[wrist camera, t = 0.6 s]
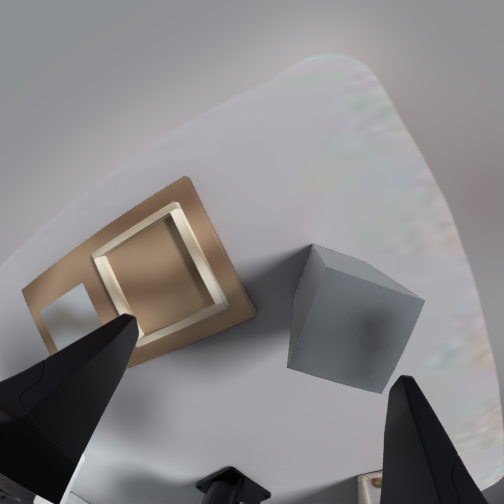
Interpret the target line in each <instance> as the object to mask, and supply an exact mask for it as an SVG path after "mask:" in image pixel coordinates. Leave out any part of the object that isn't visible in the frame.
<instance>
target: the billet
mask: <svg viewBox="0 0 504 504" xmlns="http://www.w3.org/2000/svg"><path fill="white" fill-rule="evenodd" d="M424 302H425V301H424V300H423V299H422V298H420V297H419V296H417V295H416V294H414V293H413V292H411V291H410V290H408V289H407V288H405V287H404V286H402V285H400V284H399V283H397V282H396V281H394V280H393V279H391V278H390V277H388V276H387V275H385V274H384V273H382V272H381V271H379V270H377V269H376V268H374V267H373V266H371V265H370V264H368V263H366V262H364V261H362V260H359V259H356V258H353V257H350V256H347V255H345V254H342V253H339V252H336V251H333V250H330V249H327V248H325V247H322V246H319V245H316V244H313V243H312V246H311V249H310V252H309V255H308V258H307V261H306V264H305V267H304V270H303V272H302V275H301V278H300V281H299V284H298V287H297V289H296V292H295V295H294V300H293V311H292V322H291V332H290V342H289V352H288V361H287V368H290V369H293V370H296V371H300V372H303V373H306V374H309V375H313V376H316V377H319V378H323V379H326V380H330V381H333V382H337V383H341V384H344V385H348V386H352V387H355V388H359V389H363V390H367V391H371V392H375V393H379V394H382V392H383V390H384V388H385V386H386V385H387V383H388V381H389V379H390V377H391V375H392V373H393V371H394V369H395V367H396V365H397V363H398V361H399V359H400V357H401V355H402V353H403V351H404V349H405V346H406V344H407V342H408V340H409V338H410V336H411V333H412V331H413V329H414V326H415V324H416V322H417V319H418V317H419V315H420V312H421V310H422V307H423V305H424Z"/></svg>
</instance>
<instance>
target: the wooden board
mask: <svg viewBox="0 0 504 504" xmlns="http://www.w3.org/2000/svg"><path fill="white" fill-rule="evenodd" d="M22 293H23V295H24V298H25V300H26V303H27V305H28V308H29V310H30V312H31V315H32V317H33V319H34V321H35V324H36V326H37V328H38V330H39V332H40V334H41V336H42V339H43V341H44V343H45V345H46V347H47V349H48V351H49V353H50V355H53V354H54V353H56V352H58V351H60V350H61V349H63V348H65V347H66V346H68V345H70V344H72V343H73V342H75V341H77V340H78V339H80V338H82V337H84V336H85V335H87V334H89V333H90V332H92V331H94V330H96V329H97V328H99V327H101V326H102V325H104V324H106V323H108V322H109V321H111V320H113V319H115V318H116V317H118V316H120V315H121V314H124V313H128V314H131V315H134V316H135V317H136V319H137V324H138V329H139V337H138V340H137V342H136V345H135V347H134V350H133V352H132V355H131V357H130V360H129V362H128V365H127V367H126V369H127V368H130V367H132V366H135V365H138V364H140V363H143V362H146V361H148V360H151V359H154V358H156V357H159V356H161V355H164V354H166V353H169V352H171V351H174V350H177V349H179V348H182V347H184V346H186V345H189V344H191V343H194V342H196V341H199V340H201V339H204V338H206V337H208V336H211V335H213V334H216V333H218V332H220V331H223V330H225V329H227V328H230V327H232V326H234V325H237V324H239V323H241V322H243V321H246V320H248V319H250V318H253V317H255V315H256V313H257V312H256V310H255V308H254V306H253V304H252V302H251V300H250V298H249V296H248V294H247V292H246V290H245V288H244V287H243V285H242V283H241V281H240V279H239V277H238V275H237V273H236V271H235V269H234V267H233V265H232V263H231V261H230V259H229V257H228V255H227V253H226V251H225V249H224V247H223V245H222V243H221V241H220V239H219V237H218V235H217V233H216V231H215V229H214V227H213V225H212V223H211V221H210V219H209V217H208V215H207V213H206V211H205V209H204V207H203V205H202V203H201V201H200V198H199V196H198V194H197V192H196V190H195V188H194V186H193V184H192V182H191V180H190V178H189V177H186V176H184V177H182V178H180V179H179V180H177V181H175V182H174V183H172V184H170V185H169V186H167V187H165V188H164V189H162V190H161V191H159V192H157V193H156V194H154V195H153V196H151V197H149V198H148V199H146V200H145V201H143V202H142V203H140V204H139V205H137V206H135V207H134V208H132V209H131V210H129V211H128V212H126V213H125V214H123V215H122V216H120V217H119V218H117V219H116V220H114V221H113V222H111V223H110V224H109V225H107V226H106V227H104V228H103V229H101V230H100V231H98V232H97V233H96V234H94V235H93V236H91V237H90V238H89V239H87V240H86V241H84V242H83V243H82V244H80V245H79V246H78V247H76V248H75V249H74V250H72V251H71V252H69V253H68V254H67V255H65V256H64V257H63V258H61V259H60V260H59V261H58V262H56V263H55V264H54V265H52V266H51V267H50V268H49V269H47V270H46V271H45V272H43V273H42V274H41V275H40V276H38V277H37V278H36V279H35V280H33V281H32V282H31V283H30V284H29V285H27V286H26V287H25V288H24V289H22Z"/></svg>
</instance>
